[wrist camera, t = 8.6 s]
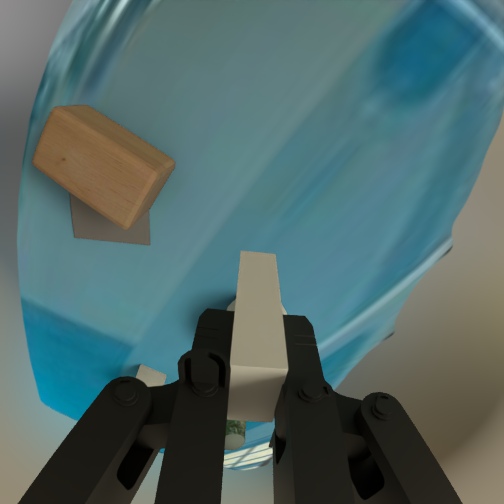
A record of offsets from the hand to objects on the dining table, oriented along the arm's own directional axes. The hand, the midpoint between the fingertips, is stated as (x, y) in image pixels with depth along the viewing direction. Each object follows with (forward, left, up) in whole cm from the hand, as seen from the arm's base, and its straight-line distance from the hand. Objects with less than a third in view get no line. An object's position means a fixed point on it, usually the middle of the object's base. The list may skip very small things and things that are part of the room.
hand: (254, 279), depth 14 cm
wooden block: (+6, -14, -29) cm, 33 cm away
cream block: (+51, -20, -35) cm, 65 cm away
